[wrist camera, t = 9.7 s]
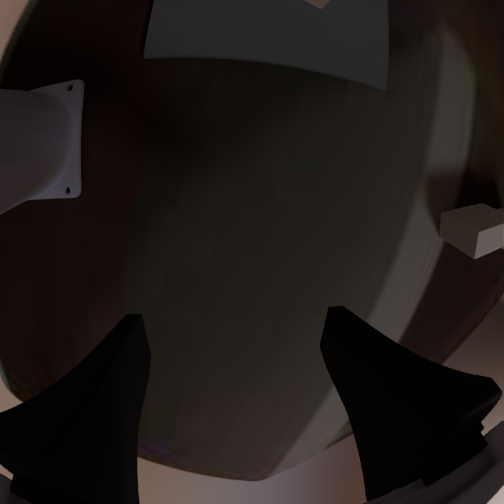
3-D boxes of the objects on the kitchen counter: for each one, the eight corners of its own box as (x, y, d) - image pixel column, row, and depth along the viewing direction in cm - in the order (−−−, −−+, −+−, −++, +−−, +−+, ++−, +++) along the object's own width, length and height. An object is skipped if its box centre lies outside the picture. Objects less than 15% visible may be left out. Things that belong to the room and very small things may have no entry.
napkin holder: (410, 239, 21) (452, 268, 16) (462, 135, 18) (509, 144, 13) (471, 289, 26) (500, 314, 21) (511, 213, 22) (543, 229, 17)
